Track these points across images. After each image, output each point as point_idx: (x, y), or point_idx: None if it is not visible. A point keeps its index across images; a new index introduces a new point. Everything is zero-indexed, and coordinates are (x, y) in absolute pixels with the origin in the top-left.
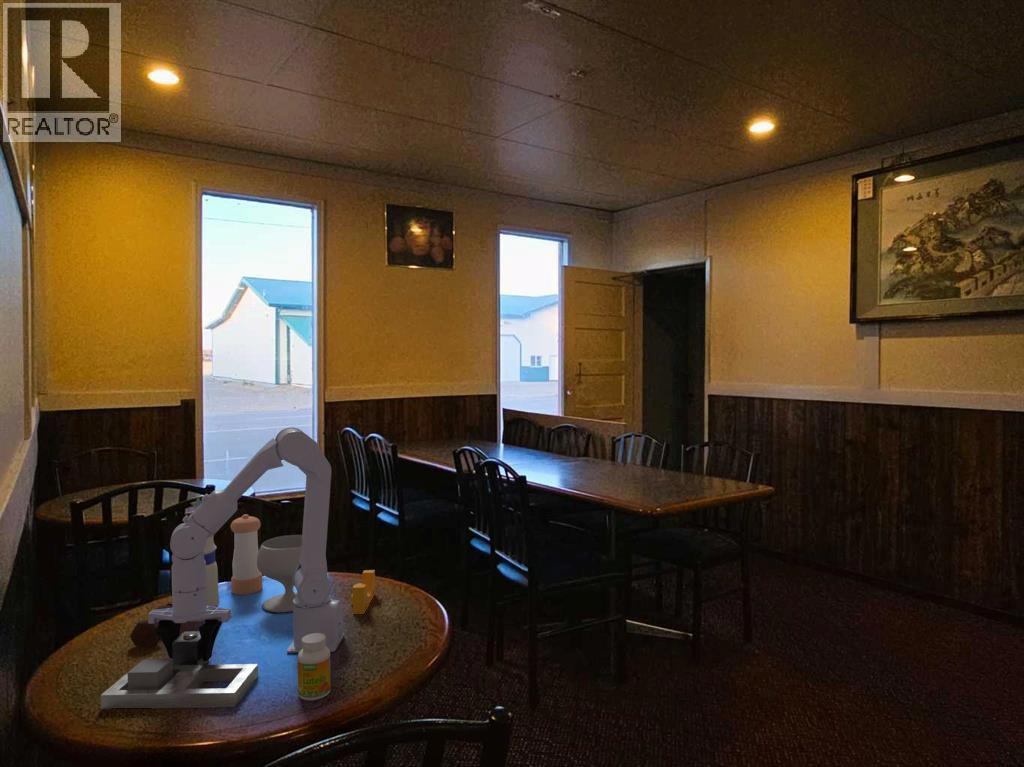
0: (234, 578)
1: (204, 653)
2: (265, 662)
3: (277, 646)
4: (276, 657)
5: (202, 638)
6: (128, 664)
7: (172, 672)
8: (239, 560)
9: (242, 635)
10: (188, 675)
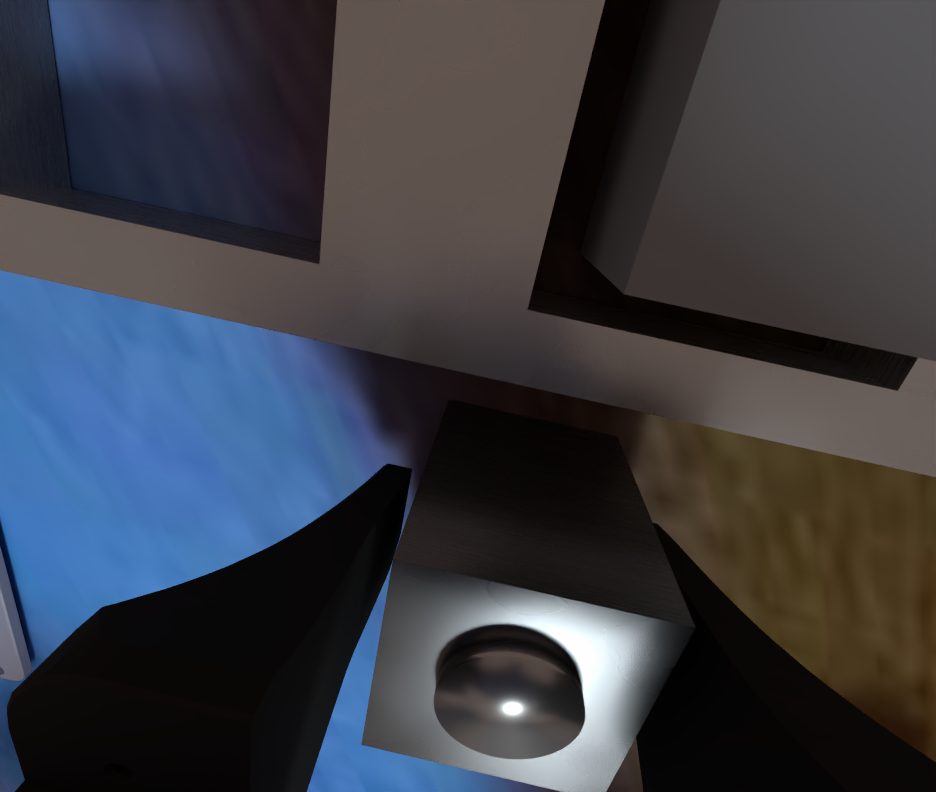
0: None
1: (374, 490)
2: (66, 436)
3: (97, 601)
4: (33, 481)
5: (322, 584)
6: (925, 633)
7: (598, 256)
8: None
9: (337, 752)
10: (422, 143)
